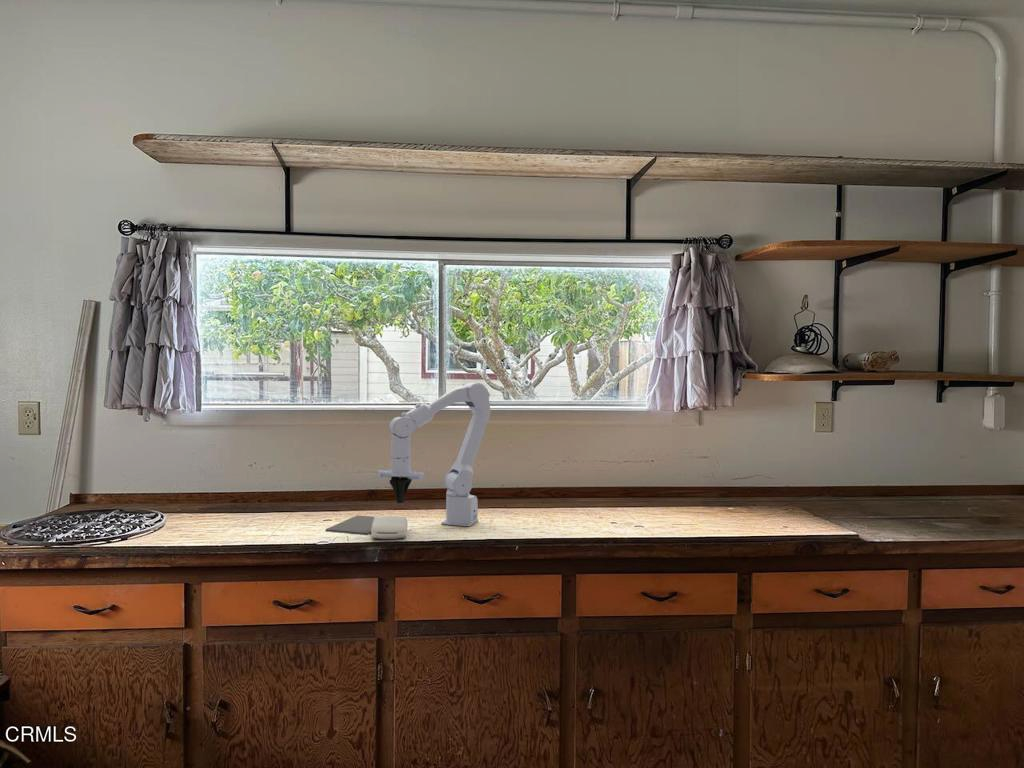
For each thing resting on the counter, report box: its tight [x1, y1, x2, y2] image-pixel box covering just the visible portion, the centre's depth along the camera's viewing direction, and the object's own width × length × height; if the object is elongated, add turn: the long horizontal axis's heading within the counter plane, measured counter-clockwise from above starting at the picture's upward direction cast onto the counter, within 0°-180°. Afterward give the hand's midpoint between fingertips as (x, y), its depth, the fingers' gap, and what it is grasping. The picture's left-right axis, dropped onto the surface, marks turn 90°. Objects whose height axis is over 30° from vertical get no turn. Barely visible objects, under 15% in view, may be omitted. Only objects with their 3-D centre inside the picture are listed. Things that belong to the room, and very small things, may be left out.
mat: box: [325, 514, 375, 536], centre depth 193 cm, size 14×18×1 cm
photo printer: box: [370, 515, 408, 540], centre depth 182 cm, size 10×4×12 cm
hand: (400, 502), depth 189 cm, fingers closed
